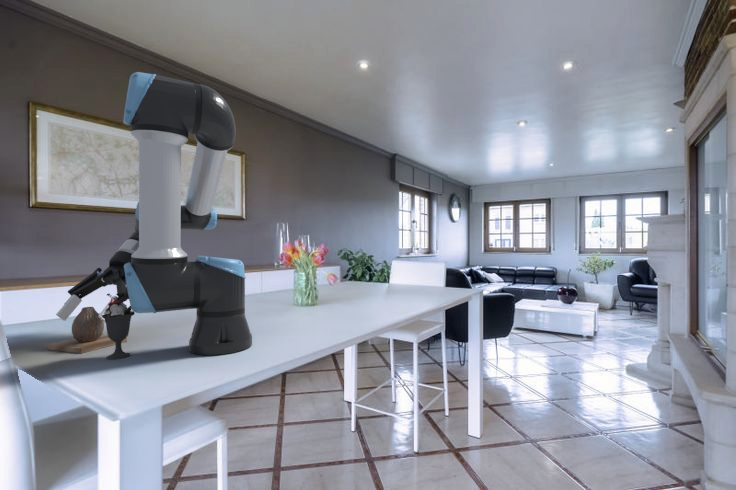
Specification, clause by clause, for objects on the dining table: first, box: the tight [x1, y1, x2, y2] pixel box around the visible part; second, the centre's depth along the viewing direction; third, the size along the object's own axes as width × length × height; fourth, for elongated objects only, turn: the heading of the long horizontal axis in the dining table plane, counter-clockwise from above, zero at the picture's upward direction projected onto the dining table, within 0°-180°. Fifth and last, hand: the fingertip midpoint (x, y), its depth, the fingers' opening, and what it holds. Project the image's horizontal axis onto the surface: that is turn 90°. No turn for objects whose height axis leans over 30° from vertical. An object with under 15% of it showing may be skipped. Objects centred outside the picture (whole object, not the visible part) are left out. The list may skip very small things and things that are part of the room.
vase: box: [71, 306, 105, 342], centre depth 101 cm, size 7×7×9 cm
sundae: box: [101, 293, 136, 360], centre depth 91 cm, size 7×7×15 cm
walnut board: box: [47, 334, 128, 354], centre depth 101 cm, size 12×12×1 cm
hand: (81, 318), depth 99 cm, fingers open, 13 cm apart
